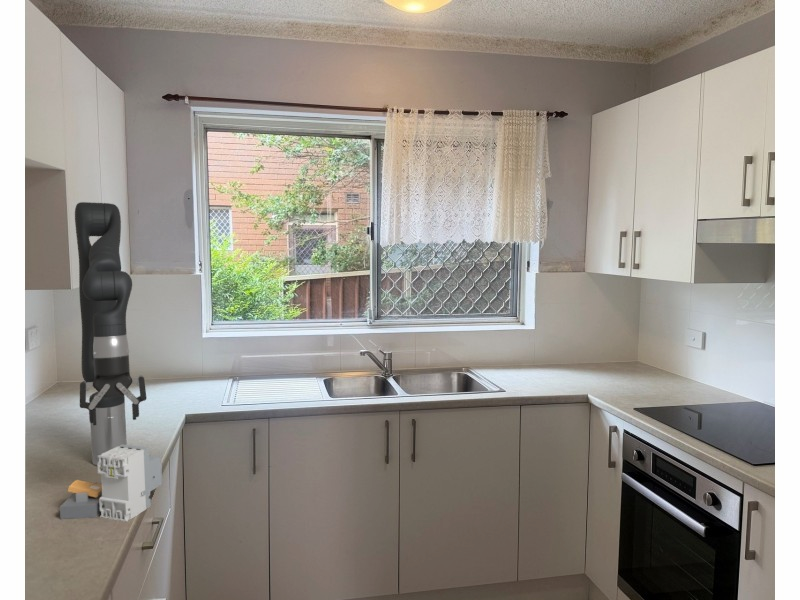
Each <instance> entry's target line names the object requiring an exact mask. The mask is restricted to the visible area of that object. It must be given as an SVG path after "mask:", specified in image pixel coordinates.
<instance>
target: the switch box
mask: <svg viewBox="0 0 800 600" xmlns="http://www.w3.org/2000/svg"><path fill="white" fill-rule="evenodd" d="M93 483H94V484H98V482H93ZM100 497H102V493H101V494H100V495H99V496H98V497H92V496H88V492H87V493H73V492H72V494H71V495H70V496H69V497H68V498H67V499H65V501H64V502H63V503H62V504H61V505H60V506H59V517H60V520H66V519H67V520H68V519H69V520H70V519H87V518H97V517H98V516H100V515H101V511H100V505H99V498H100ZM103 507H104V505H102V508H103Z"/></svg>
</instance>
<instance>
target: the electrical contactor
mask: <svg viewBox="0 0 800 600" xmlns="http://www.w3.org/2000/svg"><path fill="white" fill-rule="evenodd" d="M149 450H150V449H149V447H147V446H139V445H132V444H127V445H125V444H122V445H120V446H118V447H115V448H113V449H111V450H109V451H107V452H105V453H102V454H101V455H98V457H99V462H98V464H97V465H96V466H97V474H100V481H101V485H102V497H100V498H99V505H100V511H101V513H100V515H99V518H101V517H103V518H102V519H107V518H109V519H108V520H113V519H114V520H115V521H119V520H121V521H120V522H125V521H126V523H127V522H128V521H129V520H131V519H133V518H135V517H136V516H138V515H139V514H141V513H143V512H144V511H145V510H147V509H148V508H149V509H150V507H151V506H152V505H151V504H152V503H151V501H152V499H151V498H150V497H151V492H152V491H154V490H155V489H156V488H159V487H161V486H162V485H163V472H162V471H163V470H162V469H163V468H162V467H163V463H162V455H157V454H152V453H150V452H149ZM102 505H104V507H103V508H102ZM108 516H109V517H108ZM114 520H113V521H114Z"/></svg>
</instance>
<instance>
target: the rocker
mask: <svg viewBox="0 0 800 600" xmlns="http://www.w3.org/2000/svg"><path fill="white" fill-rule="evenodd" d="M94 483H95V482H88V481H84V480H80V479H76V480H74V481H73V482H72V483H71V484H70V485H69V486H68V490H67V492H70V493H72V494H73V493H87V492H88V496H92V497H98V496H99V495H100V494H101V493H102V484H98V483H97V484H94Z"/></svg>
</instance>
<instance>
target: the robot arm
mask: <svg viewBox="0 0 800 600" xmlns="http://www.w3.org/2000/svg"><path fill="white" fill-rule="evenodd" d="M121 219H122V218H121V212H120V209H119V207H118V206H117V205H116V204H114V203H109V202H107V203H106V202H89V201H88V202H87V201H82V202H81V201H80V202H78V203H77V204H76V205H75V209H74V224H75V234H76V242H77V251H78V253H77V254H78V271H79V272H78V273H79V275H78V278H79V279H78V283H79V284H78V287H79V289H78V290H79V307H80V308H79V309H80V316H81V317H80V318H81V374H82V378H83V380H82V381H80V383H79V408H80V409H86V410H88V415H89V416H88V417H89V423H90V438H91V439H90V440H91V442H90V443H91V461H92V465H94V466H97V464H98V462H99V457H98V455H101V454H102V453H105V452H107V451H109V450H111V449H113V448H115V447H118V446H120V445H122V444H125V445H128V443H127V425H126V424H127V423H126V422H127V421H126V401H125V400H126V398H127V399H128V400H129V401H131V402H132V404H131V409H132V410H131V411H132V420H133V421H135V420H137V418H139V417H140V408H139V407H140V403H142V402H145V401H147V391H146V390H147V389H146V383H145V377H144V376H143V375H139V376H136V377H132V376H131V372H130V370H131V369H130V355H129V353H130V350H129V342H128V336H127V310H128V305H129V301H130V300H129V299H130V296H131V293H132V289H133V281H132V278H131V275H130V274H129V273H127V272H126V271H123V270H122V263H121V256H120V246H121V237H122V236H121V233H122V232H121V231H122V220H121ZM90 237H98V239H97V240H95V242H94V243H93V244H91V241H90ZM132 383H134V384H135V386H138V387H139V396H135V394H134V393H132V391H131V390H130V386H131V385H132ZM91 387H93V388H94V389H95V390H96V392H94V393H92V394H91V395H90V396H89V398H88V401H89V402H87V401H86V400H87V392H89V391H90V388H91ZM125 397H126V398H125Z"/></svg>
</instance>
